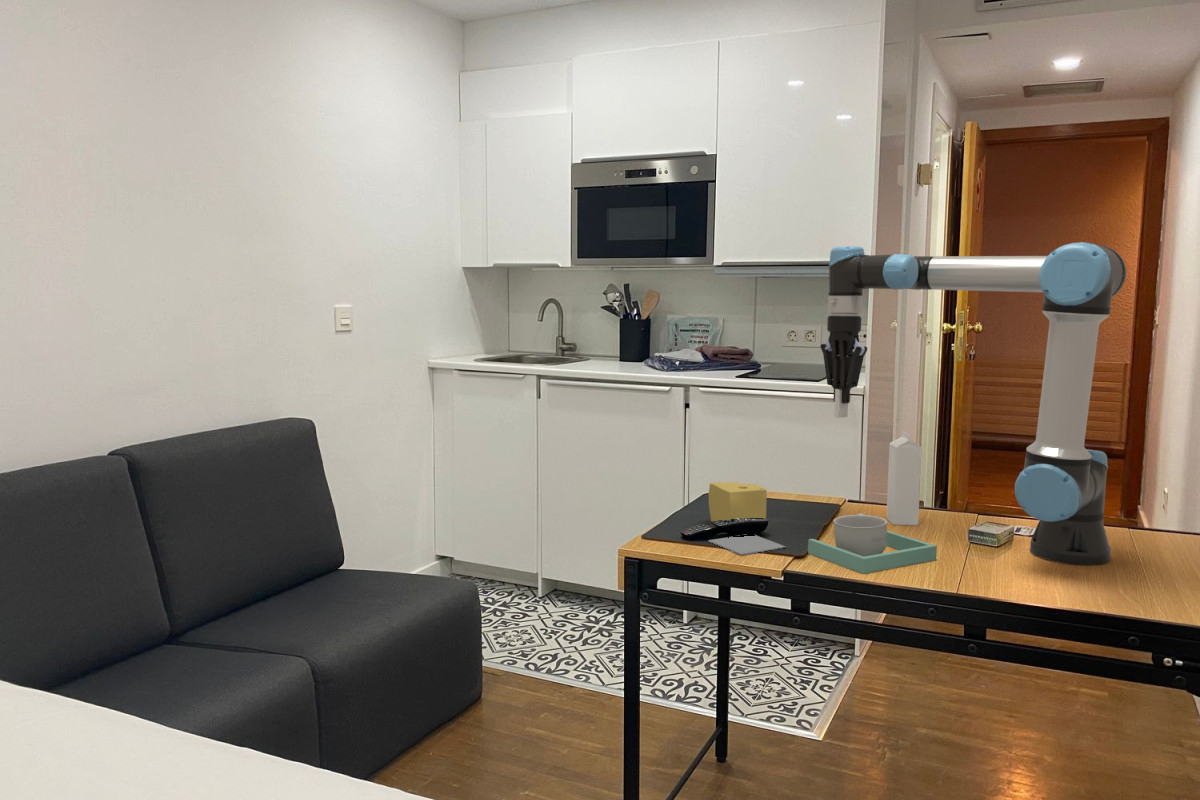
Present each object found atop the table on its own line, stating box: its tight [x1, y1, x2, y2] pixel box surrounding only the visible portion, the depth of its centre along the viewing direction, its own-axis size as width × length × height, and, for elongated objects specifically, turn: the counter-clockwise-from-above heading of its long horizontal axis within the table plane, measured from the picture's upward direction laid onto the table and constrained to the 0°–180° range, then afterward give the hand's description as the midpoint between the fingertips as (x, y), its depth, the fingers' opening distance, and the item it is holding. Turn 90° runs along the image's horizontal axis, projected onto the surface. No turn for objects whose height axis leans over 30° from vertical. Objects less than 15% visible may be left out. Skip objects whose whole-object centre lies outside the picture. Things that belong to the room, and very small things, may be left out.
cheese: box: [708, 481, 768, 522], centre depth 217 cm, size 10×11×10 cm
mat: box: [707, 534, 787, 556], centre depth 201 cm, size 12×12×1 cm
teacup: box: [832, 513, 888, 557], centre depth 194 cm, size 14×11×8 cm
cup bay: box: [807, 530, 938, 575], centre depth 193 cm, size 16×20×3 cm
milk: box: [886, 430, 923, 526], centre depth 221 cm, size 6×6×22 cm
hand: (840, 416), depth 213 cm, fingers closed
